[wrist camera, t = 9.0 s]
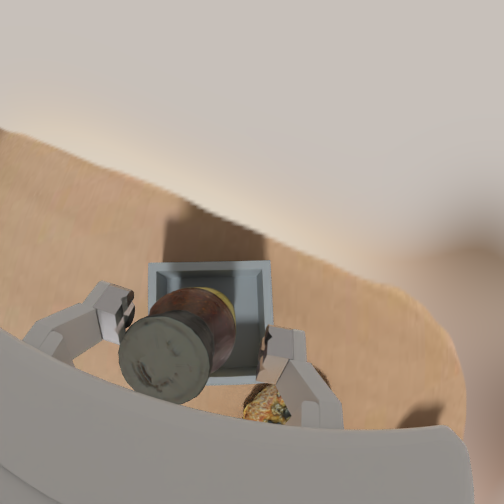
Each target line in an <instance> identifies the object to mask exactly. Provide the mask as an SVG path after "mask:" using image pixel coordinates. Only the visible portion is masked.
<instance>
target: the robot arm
mask: <svg viewBox="0 0 504 504" xmlns="http://www.w3.org/2000/svg"><path fill="white" fill-rule="evenodd" d="M133 299H134V292H133V291H132V290H130V289H127V288H124V287H121V286H118V285H115V284H111V283H108V282H105V281H99V282H98V284H97V285H96V286H95V287H94V289H93V290H92V291H91V293H90V294H89V295H88V297H87V298H86V299H85V301H84V302H83V303H82V304H81V303H78V304H76V305H73V306H71V307H69V308H66V309H64V310H62V311H59V312H57V313H55V314H52V315H50V316H48V317H45V318H43V319H41V320H38V321H36V323H35V324H34V325H33V326H32V328H31V329H30V330H29V332H28V333H27V335H26V336H25V337H24V339H23V340H20V339H18V338H17V337H15V336H13V335H12V334H10V333H8V332H7V331H5V330H3V329H2V328H0V504H474V487H473V478H472V470H471V464H470V459H469V454H468V450H467V447H466V445H465V444H464V442H463V441H462V440H461V439H460V438H459V437H458V436H457V435H456V434H455V432H454V431H453V430H451V429H450V428H449V427H448V426H446V425H436V426H426V427H416V428H402V429H377V430H351V429H344V425H343V414H342V404H341V402H340V401H339V400H338V398H337V397H336V396H335V394H334V393H333V392H332V391H331V389H330V388H329V387H328V385H327V384H326V383H325V381H324V380H323V379H322V377H321V376H320V375H319V374H318V372H317V371H316V370H315V368H314V367H313V366H312V364H311V363H309V362H307V355H306V337H305V332H304V331H302V330H296V329H291V328H285V327H280V326H275V325H270V324H268V325H267V327H266V330H265V337H263V338H262V341H261V344H260V348H259V353H258V360H259V364H258V366H257V371H256V381H259V382H264V383H269V384H274V385H276V388H277V389H278V391H279V393H280V395H281V397H282V399H283V401H284V403H285V405H286V406H287V408H288V410H289V412H290V414H291V417H290V419H289V420H288V421H287V422H286V423H285V425H280V424H273V423H265V422H259V421H252V420H246V419H241V418H235V417H230V416H225V415H220V414H215V413H211V412H206V411H202V410H198V409H194V408H190V407H186V406H182V405H178V404H175V403H171V402H168V401H164V400H161V399H157V398H154V397H151V396H148V395H145V394H142V393H139V392H136V391H133V390H130V389H127V388H124V387H121V386H119V385H116V384H113V383H111V382H108V381H106V380H103V379H100V378H98V377H96V376H93V375H91V374H88V373H86V372H84V371H81V370H79V369H77V368H75V366H74V364H73V361H72V360H73V359H74V358H76V357H77V356H79V355H80V354H82V353H83V352H85V351H86V350H88V349H90V348H91V347H93V346H94V345H96V344H97V343H99V342H100V341H102V339H103V340H106V341H109V342H112V343H115V344H118V345H120V344H121V342H122V340H123V338H124V336H125V334H126V331H125V328H127V327H129V326H130V325H131V323H132V321H133V318H134V314H135V305H134V304H133V302H132V300H133Z"/></svg>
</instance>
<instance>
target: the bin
mask: <svg viewBox="0 0 504 504" xmlns="http://www.w3.org/2000/svg"><path fill="white" fill-rule="evenodd" d="M193 287H208V288H213V289H216V290H218V291H220V292H221V293H223V294H224V295H225V296H226V297H227V298H228V299H229V300H230V302H231V303H232V305H233V307H234V311H235V319H236V337H235V343H234V346H233V350H232V352H231V354H230V356H229V358H228V359H227V360H226V362H225V363H224V364H223V365H222V366H221V367H220V368H219V369H218V370H216V371H215V372H213V373H211V374H210V377H209V379H208V381H207V383H206V385H240V384H258V383H264V382H259V381H256V371H257V366H258V364H259V360H258V353H259V348H260V344H261V341H262V338H263V337H265V330H266V327H267V325H268V324H270V325H273V305H272V285H271V266H270V260H263V261H220V262H169V263H149V264H148V315H149V312H150V309H151V307H152V306H153V305H154V304H155V303H156V302H157V301H158V300H159V299H160V298H161V297H163V296H164V295H166V294H168V293H171V292H172V291H176V290H178V289H182V288H193Z"/></svg>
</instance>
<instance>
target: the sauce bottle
mask: <svg viewBox="0 0 504 504" xmlns="http://www.w3.org/2000/svg"><path fill="white" fill-rule="evenodd" d="M235 337H236V319H235V311H234V307H233V305H232V303H231V302H230V300H229V299H228V298H227V297H226V296H225V295H224V294H223V293H221V292H220V291H218V290H216V289H213V288H208V287H193V288H182V289H178V290H176V291H172V292H171V293H168V294H166V295H164V296H163V297H161V298H160V299H159V300H158V301H157V302H156V303H155V304H154V305H153V306H152V307H151V309H150V312H149V315H148V316H147V317H144V318H142V319H140V320H138V321H137V322H135V323H134V324H132V325H131V326H130V327H129V329H128V330H127V331H126V334H125V336H124V338H123V340H122V342H121V344H120V347H119V352H118V354H119V365H120V368H121V371H122V374H123V376H124V378H125V380H126V381H127V383H128V384H129V385H130V386H131V387H132V388H133V389H134V390H135V391H136V392H139V393H142V394H145V395H148V396H151V397H154V398H157V399H161V400H164V401H168V402H171V403H175V404H178V405H179V404H183V403H185V402H188V401H190V400H191V399H193V398H195V397H197V396H198V395H199V394H200V392H201V391H202V390H203V388H204V387H205V385H206V383H207V381H208V379H209V377H210V374H211V373H213V372H215V371H216V370H218V369H219V368H220V367H221V366H222V365H223V364H224V363H225V362H226V360H227V359H228V358H229V356H230V354H231V352H232V350H233V346H234V343H235Z"/></svg>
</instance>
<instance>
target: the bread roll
mask: <svg viewBox="0 0 504 504" xmlns="http://www.w3.org/2000/svg"><path fill="white" fill-rule="evenodd" d="M243 414H244V416H243V419H246V420H252V421H259V422H265V423H273V424H280V425H285V423H286V422H287V421H288V420H289V419H290V417H291V414H290V412H289V410H288V408H287V406H286V405H285V403H284V401H283V399H282V397H281V395H280V393H279V391H278V389H277V388H276V385H274V384H270V385H269V386H267V387H266V388H265V389H263V390H262V392H259V393H258V395H257V396H256V397H255V398H254V400H253V401H252V402H251V403H249V404H248V405H247V406H246V408H245V409H244V412H243Z"/></svg>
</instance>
